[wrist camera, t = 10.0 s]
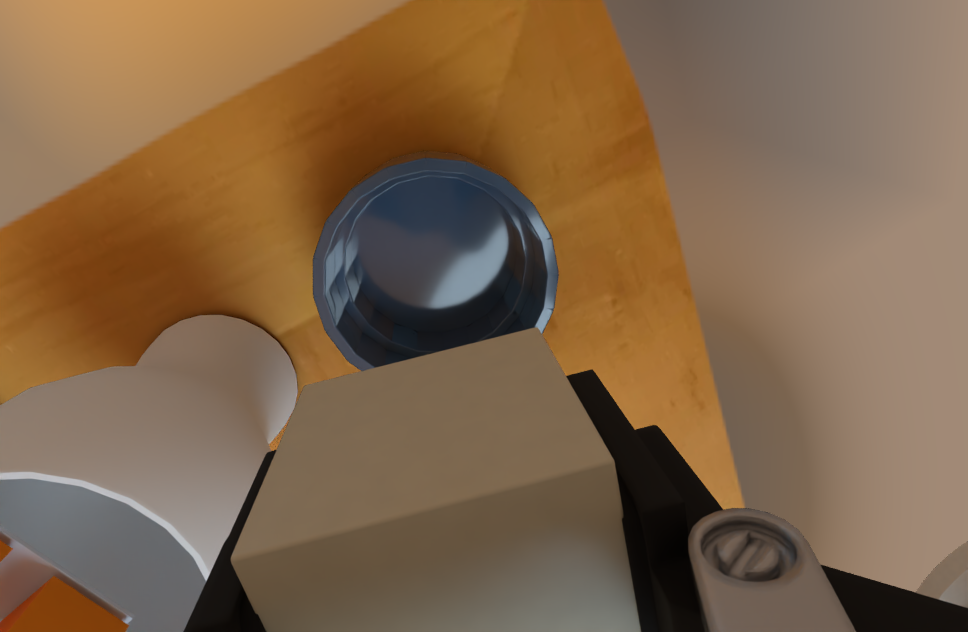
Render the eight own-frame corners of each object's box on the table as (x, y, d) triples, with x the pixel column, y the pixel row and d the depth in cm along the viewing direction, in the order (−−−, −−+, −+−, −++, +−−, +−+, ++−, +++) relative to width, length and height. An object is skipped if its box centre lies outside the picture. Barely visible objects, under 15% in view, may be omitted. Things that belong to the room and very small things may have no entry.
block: (537, 325, 11) (614, 458, 7) (577, 516, 12) (660, 725, 8) (303, 384, 11) (227, 560, 6) (372, 570, 12) (348, 810, 8)
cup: (265, 253, 28) (107, 388, 14) (359, 427, 32) (310, 674, 18) (68, 334, 28) (-281, 546, 14) (183, 498, 32) (-4, 798, 18)
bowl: (509, 129, 28) (532, 131, 22) (547, 319, 31) (575, 363, 25) (306, 178, 27) (277, 193, 22) (367, 364, 31) (355, 419, 25)
